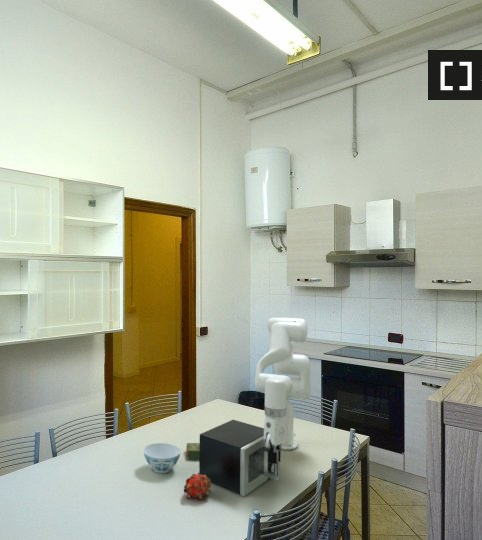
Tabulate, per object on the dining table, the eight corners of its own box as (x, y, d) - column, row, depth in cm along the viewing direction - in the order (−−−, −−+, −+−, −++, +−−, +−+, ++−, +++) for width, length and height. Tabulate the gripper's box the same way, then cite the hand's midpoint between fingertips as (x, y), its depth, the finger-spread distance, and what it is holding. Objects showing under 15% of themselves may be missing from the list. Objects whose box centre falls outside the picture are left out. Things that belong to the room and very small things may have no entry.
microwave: (277, 475, 170) (277, 432, 170) (245, 497, 153) (245, 449, 153) (232, 459, 184) (233, 419, 184) (199, 477, 167) (199, 434, 167)
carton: (225, 460, 182) (225, 450, 182) (187, 459, 183) (187, 449, 183) (222, 452, 191) (222, 442, 191) (186, 451, 191) (186, 442, 191)
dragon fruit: (212, 496, 156) (187, 511, 149) (198, 475, 161) (173, 489, 155) (220, 484, 151) (194, 499, 145) (205, 463, 156) (180, 476, 150)
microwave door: (281, 484, 162) (282, 440, 162) (258, 502, 149) (259, 454, 149) (263, 478, 167) (264, 435, 167) (240, 494, 154) (240, 448, 154)
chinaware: (185, 465, 177) (185, 446, 177) (172, 481, 164) (172, 461, 164) (152, 458, 184) (152, 440, 184) (137, 473, 170) (137, 453, 170)
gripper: (273, 418, 153) (273, 470, 152) (294, 410, 164) (293, 459, 164) (255, 413, 159) (254, 464, 158) (276, 406, 170) (275, 453, 169)
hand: (274, 461), depth 161 cm, fingers closed
